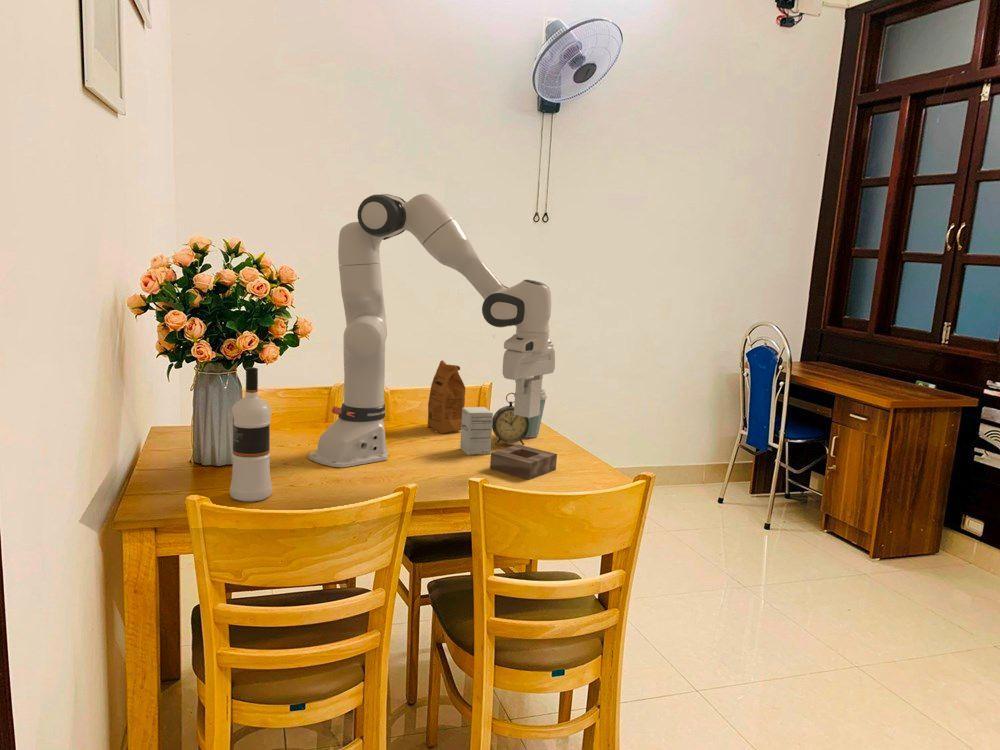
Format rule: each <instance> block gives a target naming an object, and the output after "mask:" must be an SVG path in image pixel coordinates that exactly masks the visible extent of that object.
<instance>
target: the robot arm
mask: <svg viewBox="0 0 1000 750" xmlns="http://www.w3.org/2000/svg"><path fill="white" fill-rule="evenodd" d="M405 231H406V232H409V233H410V234H412V235H413V236H414V237H415V238H416V239H417V240H418V242H419V243H420V245H422V247H423V248H424V249H425V251H426V252H427V253H428V254H429V255H430V256H431V257H432V258H434V260H436V261H437V262H439V263H440V264H441V265H443V266H446V267H448V268H451V269H453V270H454V271H457V272H458V273H459V274H460V275H462V276H463V277H465V279H466V280H467V281H468V282H469V283H470V284H471V285H472V286H473V288H474V289H475V290H476V291H477V293H478V294H479V295H480V296H481V297H482V298H483V302H482V305H481V314H482V316H483V319H484V320H485V321H486V323H488V324H489V325H490V326H493V327H496V328H505V327H512V326H514V327H515V333H514V334H513V335H512V336H511V337H509V338H508V339H505V341H504V343H503V349H504V350H505V351H504V354H503V357H502V375H503V377H504V379H505V380H506V379H507V380H510V381H511V380H512V381H514V382H515V386H516V385H517V387H518V388H517V393H518V394H521V395H522V394H525V393H526V388H525V387H524V383H523V382H525V378H528V377H534V378H539V379H542V380H543V379H544V378H543V377H544V376H543V375H549V374H553V373H554V372H555V369H556V351H555V348H554V344H553V342H552V340H550V326H549V322H550V319H551V314H552V291H551V289H550V287H549V286H548V285H547V284H545V283H543V282H540V281H537V280H531V279H523V280H522V281H520V282H519V283H516V284H515V285H512V286H510V287H507V286H506V285H504V284H502V283H501V282H500V280H498V278H497V277H496V276H495V275H494V273H492V271H491V270H490V269H489V268H488V266H486V264H485V263H484V262H483V261H482V260H481V258H480V256H478V254H477V251H475V248H474V247H473V245H472V243H471V240H470V239H469V238H468V236H467V234H466V232H465V231H464V230H463V228H462V226H461V225H460V224H459V222H458V221H457V220H456V218H455V217H454V216H453V215H452V214H451V213H450V212H449V211H448V209H447V208H446V207H445V206H443V204H441V203H440V202H439V201H438V200H437V199H436V198H435V197H433V196H432V195H431V194H428V193H419V194H417V195H415V196H413V197H412V198H410V199H409V200H408V201H405V200H404V199H403V198H402V197H400V196H397V195H394V194H389V193H381V194H372V195H370V196H368V197H365V199H364V200H362V201H361V203H360V205H359V207H358V210H357V221H353V222H349V223H347V224H345V225H344V226H342V228H341V229H340V231H339V236H338V246H337V247H338V251H337V252H338V254H337V255H338V256H337V257H338V270H339V280H340V281H339V283H340V291H341V298H342V304H343V308H344V316H345V324H346V327H345V329H344V332H343V373H344V379H343V380H344V381H343V382H344V383H343V402H342V404H341V406H340V407H338V406H332V407H331V410H330V411H331V413H332V414H334V415H338V416H337V417H338V418H337V419H336V420H335V421H334V422H333V423H332V424H330V426H329V427H328V428H327V429H325V431H324V432H322V434H320V436H319V438H318V441H317V442H318V443H317V450H316V451H313V452H310V453H309V454H308V459H310V461H312V462H315V463H317V464H321V465H324V466H328V467H332V468H333V467H335V468H349V467H353V466H359V465H364V464H371V463H375V462H381V461H383V462H384V461H387V460H388V459H389V457H388V455H389V451H388V448H387V441H386V431H385V423H384V421H385V420H384V418H386V404H385V383H386V382H385V381H386V380H385V379H386V372H385V371H386V363H385V362H386V341H387V336H388V328H387V319H386V317H387V315H386V308H385V300H384V292H383V291H384V290H383V280H382V268H381V257H380V255H381V254H380V246H381V243H382V241H383V240H384V241H385V240H388V239H390V238H393V237H397V236H399V235H401V234H402V233H404V232H405Z"/></svg>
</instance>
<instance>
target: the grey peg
mask: <svg viewBox="0 0 1000 750" xmlns="http://www.w3.org/2000/svg"><path fill="white" fill-rule="evenodd" d="M523 383H524V387H525V388H526V393H525V394H522V395H521V394H518V393H517V388H518V387H517V385H516V384H515V392H514V394H515V397H514V401H515V402H514V403H513V406H514V415H519V416H523V417H527V418H530V417H534V416H538V415H539V414H540V401H541V389H543V388H542V386H543V379H539V378H534V376H533V377H528V378H525V382H523Z"/></svg>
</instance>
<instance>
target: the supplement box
mask: <svg viewBox="0 0 1000 750" xmlns="http://www.w3.org/2000/svg"><path fill="white" fill-rule="evenodd" d="M493 416H494V413H493V412H492V411H491V410H489V409H488V408H487V407H486V406H469V407H468V406H464V407H463V408H462V424H461V430H460V442H459V443H460V446H459V448H460V449H461V450H462V451H463V452H464V453H465V454H466V455H468V456H474V455H473V454H482V455H491V453H492V436H493V435H492V433H493V429H492V421H493ZM471 454H472V455H471Z"/></svg>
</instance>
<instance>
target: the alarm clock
mask: <svg viewBox="0 0 1000 750" xmlns="http://www.w3.org/2000/svg"><path fill="white" fill-rule="evenodd" d="M509 395H513V396H514V395H515V392H509V393H508V394H507V395H506V396H505V400H506V402H507V403H508V404H509V405H506V406H505V405H504V406H503V407H501V408H499V409H498V410H497V411H496V412H495V413H493V421H492V433H494V435H495V436H496V437H497V438H498V439H497V441H496V443H494V445H495V446H498V444H499V443H500V442H503V443H506V444H515V443H518V442H520V443H521V445H523V446H525V443H524V442H523V439H524V438H526V437H525V435H526V434H527V432H528V429H529V420H528V418H527V417H523V416H519V415H514V405H513V404H515V400H514V401H508V396H509Z"/></svg>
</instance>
